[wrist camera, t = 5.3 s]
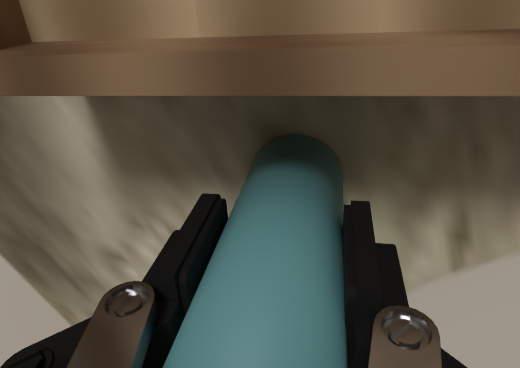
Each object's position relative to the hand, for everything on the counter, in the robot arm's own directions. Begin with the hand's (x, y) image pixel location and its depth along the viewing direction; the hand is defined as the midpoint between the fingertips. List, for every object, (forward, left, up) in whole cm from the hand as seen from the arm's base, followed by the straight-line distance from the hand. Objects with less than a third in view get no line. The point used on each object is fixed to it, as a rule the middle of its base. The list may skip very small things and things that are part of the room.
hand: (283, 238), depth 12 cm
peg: (0, 0, -4) cm, 4 cm away
